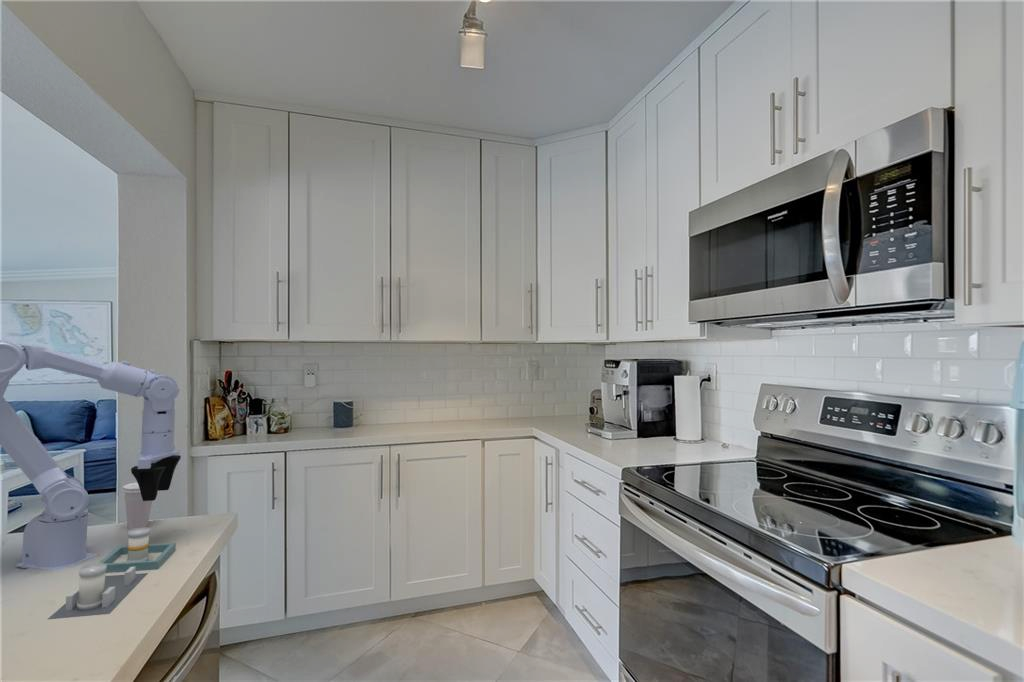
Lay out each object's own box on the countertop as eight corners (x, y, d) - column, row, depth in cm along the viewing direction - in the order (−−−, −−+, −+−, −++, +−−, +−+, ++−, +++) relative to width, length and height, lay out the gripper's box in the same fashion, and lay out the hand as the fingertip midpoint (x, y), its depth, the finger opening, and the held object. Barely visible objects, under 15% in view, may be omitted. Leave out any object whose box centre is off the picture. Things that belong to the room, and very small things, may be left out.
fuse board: (109, 617, 80) (110, 599, 80) (47, 623, 78) (48, 604, 78) (147, 576, 95) (148, 560, 95) (96, 580, 93) (97, 564, 93)
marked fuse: (122, 564, 98) (123, 532, 99) (138, 557, 102) (139, 526, 102) (136, 566, 98) (138, 534, 98) (152, 559, 101) (154, 528, 101)
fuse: (71, 607, 82) (74, 569, 82) (94, 598, 85) (96, 561, 85) (86, 612, 80) (89, 573, 81) (109, 602, 84) (111, 565, 84)
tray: (157, 572, 96) (157, 561, 97) (94, 576, 94) (94, 565, 94) (175, 552, 106) (175, 542, 106) (118, 556, 103) (118, 546, 103)
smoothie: (149, 520, 124) (152, 461, 124) (158, 526, 120) (161, 466, 120) (116, 526, 119) (119, 465, 119) (124, 533, 115) (128, 470, 115)
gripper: (167, 436, 104) (165, 504, 104) (190, 425, 118) (188, 484, 118) (126, 437, 102) (124, 506, 102) (154, 426, 116) (153, 486, 116)
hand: (156, 495), depth 110 cm, fingers open, 7 cm apart
